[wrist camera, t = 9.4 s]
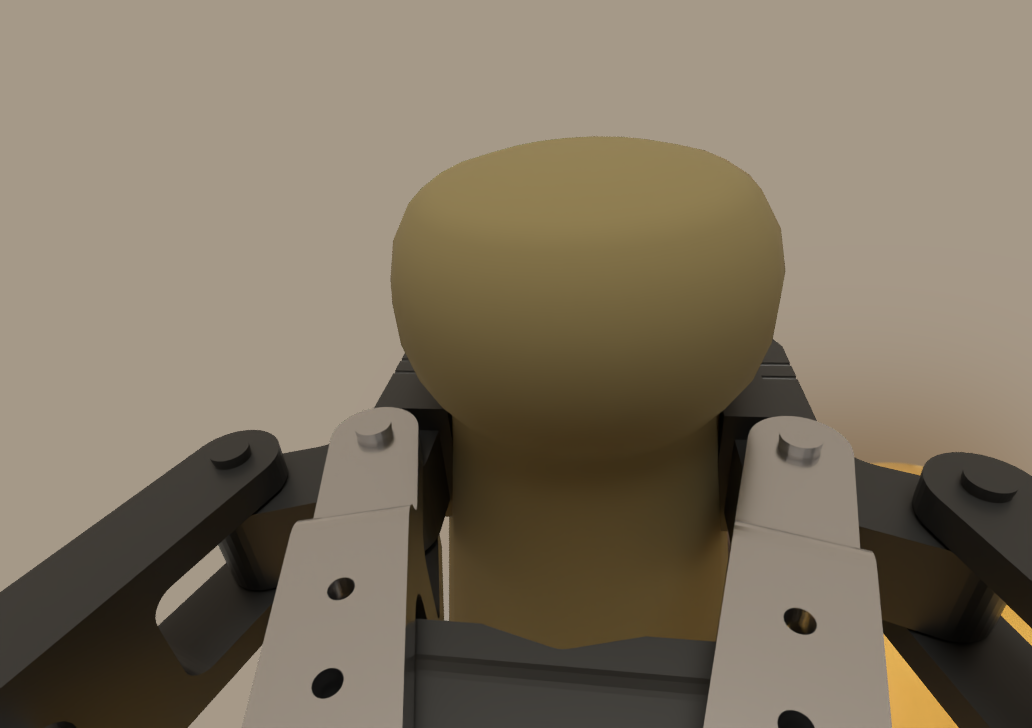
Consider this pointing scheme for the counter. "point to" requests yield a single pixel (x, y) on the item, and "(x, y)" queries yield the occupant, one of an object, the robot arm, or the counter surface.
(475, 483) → the cork
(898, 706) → the counter surface
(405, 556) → the robot arm
